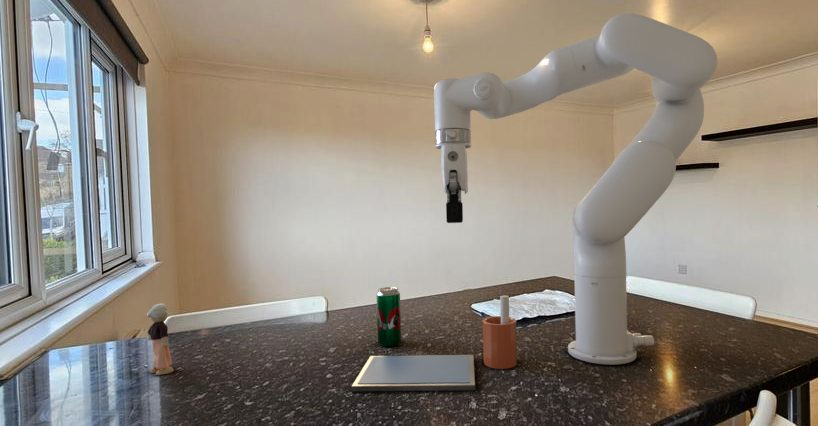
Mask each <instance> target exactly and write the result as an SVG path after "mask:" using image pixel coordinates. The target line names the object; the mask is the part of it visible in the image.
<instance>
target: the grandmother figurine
mask: <svg viewBox="0 0 818 426" xmlns="http://www.w3.org/2000/svg"><path fill="white" fill-rule="evenodd" d="M167 310H168V307H167V304H165V303H157V304H156V303H155V304H154V305H153V306H151V308H149V310H148V312H147V313H146V315H145V317H146V318H150V319H151V321H152V324H151V325H150V326H149V328H148V330H147V340H148V341H151V343H152V352H153V357H152V367H153V368H151V370H150V371H149V372H150V373H152V374H154V373H155V376H161V375H168V374H170V373H173V372H174V370H175V369H174V368H173V367H172V365H173V360H172V356H171V351H170V346H169V345H170V344H169V328H168V327H169V326H168V325H167V324H166V323H165V321H166V320H167V319H168V316H169V315H168V312H167Z"/></svg>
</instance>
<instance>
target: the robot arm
mask: <svg viewBox="0 0 818 426" xmlns="http://www.w3.org/2000/svg"><path fill="white" fill-rule="evenodd" d="M717 67H718V55H717V52H716V51H715V49H714V47H713V46H712V45H711V44H710V42H708V41H707V40H706V39H703V38H702V37H700V36H697V35H695V34H693V33H690V32H687V31H685V30H682V29H680V28H677V27H675V26H672V25H669V24H668V23H664V22H662V21H659V20H657V19H654V18H651V17H648V16H645V15H642V14H637V13H627V12H625V13H621V14H620V13H619V14H617V15H615V16H613V17H611V18H610V19H608V20H607V21H606V22H605V24H604V26H603V27H602V29H601V31H600V34H599V35H596V36H593V37H589V38H587V39H584V40H582V41H578V42H576V43H572V44H569V45H566V46H563V47H561V48H557V49H555V50H554V49H553V50H551V51H550V52H549V53H547V54H546V55H545V56H544V57H543V58H542V59H541V60H540V61H539V62H538V63H537V65H536V66H534V67H533V68H532V69H530V70H529V71H528V72H526V73H524V74H522V75H520V76H518V77H516V78H512V79H510V80H507V81H504V82H503V80H502V79H501V77H499V75H498V74H495V73H493V72H479V73H475V74H472V75H468V76H465V77H461V78H445V79H440V80H439V81H438V82H436V83H435V84H434V87H433V108H434V111H433V113H434V137H435V138H434V141H435V142H434V145H435V146H434V147H435V149H437V150H440V154H441V155H440V157H441V159H440V161H441V177H442V187H443V192H444V193H445V194H446V203H445V213H446V216H445V217H446V223H447V224H461V223H463V222H464V211H463V210H464V209H463V208H464V207H463V202H462V192H464V195H466V194H468V192H469V184H468V183H469V182H468V180H469V178H468V177H469V176H468V175H469V174H468V153H467V149H470V148H472V130H471V124H472V123H471V112H472V111H475V112H477V113H478V114H479V115H480V116H481V117H483V118H485V119H487V120H497V119H502V118H507V117H509V116H513V115H515V114H519V113H522V112H525V111H528V110H530V109H534V108H535V107H537V106H540V105H542V104H544V103H547V102H550V101H552V100H554V99H556V98H557V97H560V96H562V95H564V94H568V93H571V92H573V91H574V92H575V91H577V90H580V89H583V88H586V87H587V88H588V87H590V86H593V85H596V84H599V83H603V82H607V81H610V80H613V79H616V78H619V77H621V76H624V75H627V74H628V73H631V72H632V71H633V70H634V69H635V70H637V71H640V72H642V73H644V74H647V75H649V76H650V82H649V84H650V91H651V93H652V95H653V98H654V102H655V107H654V111H653V113H652V115H651V116H650V117H649V119H648V120H647V121H646V122H645V124H644V125H643V127H642V128H641V129H640V130H639V132H638V133H637V134H636V136H634V138H633V139H632V140H631V141H630V142H629V144H627V146H626V147H625V148H623V149H622V150H621V151H620V152H619V153H618V154H617V155H616V156H615V157H614V160H613V161H612V162H611V165H610V166H609V167H608V168H607V169H606V171H605V172H604V173H603V174H602V176H600V178H599V179H598V180H597V181H596V183H595V184H594V185H593V187H592V188H591V189H590V190H589V191H588V192H587V194H585V195H583V196H582V197H581V198H580V199H579V200H578V201H577V202H576V204H575V205H574V208H573V211H572V221H571V222H572V237H573V238H572V239H573V263H574V264H573V265H574V271H573V272H574V275H573V277H574V316H575V318H574V319H575V321H574V322H575V340H572V341H571V342H569V343H568V345H567V352H568V354H569V355H570V356H571V357H573V358H575V359H576V360H578V361H582V362H585V363H590V364H595V365H596V364H597V365H605V366H607V365H609V366H612V365H614V366H618V365H624V364H625V365H626V364H629V363H632V362H634V361H635V360H636V359H637V357H638V355H637V354H638V353H637V352H638V351H637V349H636V348H638V346H643V347H653V346H654V345H655V338H654V336H653V335H649V334H648V335H642V334H641V333H640V332H634V333H632V332H631V331H629V329H628V305H627V304H628V301H627V300H628V299H627V298H628V297H627V252H626V251H627V250H626V240H625V239H626V236H627V235H628V234H629V233H630V232H631V231H632V230H633V229H634V228H635V227H636V226H637V225H638V223H639V222H640V221H641V220H642V219H643V217H644V216H645V215H646V214H647V213H648V212H649V211H650V210H651V209H652V207H653V206H655V204H656V203H657V201H658V200H660V198H661V197H662V196H663V195H664V194H665V192H666V191H667V190H668V188H669V187H670V185H671V184H672V182H673V181H674V178H675V174H676V172H677V171H676V169H677V164H676V162H677V161H678V160H679V158H680V157H681V156H682V154H684V152H685V151H686V149H687V148H688V147H689V146H690V145H691V143H692V142H693V141H694V139H695V138H696V137H697V135H698V133H699V132H700V130H701V127H702V125H703V122H704V116H705V103H704V101H705V100H704V98H703V93H702V91H701V88H703V87H704V86H705V85H706V84H707V83H708V82H709V81H710V80H711V79H712V78H713V76H714V74H715V72H716V70H717Z"/></svg>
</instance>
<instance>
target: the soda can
mask: <svg viewBox="0 0 818 426" xmlns="http://www.w3.org/2000/svg"><path fill="white" fill-rule="evenodd" d="M401 321H402V315H401V292H400V291H399V288H398V287H395V286H387V287H380V288H378V291H377V292H376V327H377V343H378V345H379V346H380V347H383V348H384V347H385V348H392V347H397V346H398V345H399V344H401V342H402V322H401Z"/></svg>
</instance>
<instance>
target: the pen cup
mask: <svg viewBox="0 0 818 426" xmlns="http://www.w3.org/2000/svg"><path fill="white" fill-rule="evenodd" d="M517 339H518V337H517V319H516V318H514V317H511V316H509V323H507V324H501V315H494V316H493V315H492V316H488V317H485V318H483V319H482V350H483V353H482V355H483V364H484V366H486V367H488V368H490V369H496V370H507V369H511V368H515V367H516V366H517V365H518V340H517Z"/></svg>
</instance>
